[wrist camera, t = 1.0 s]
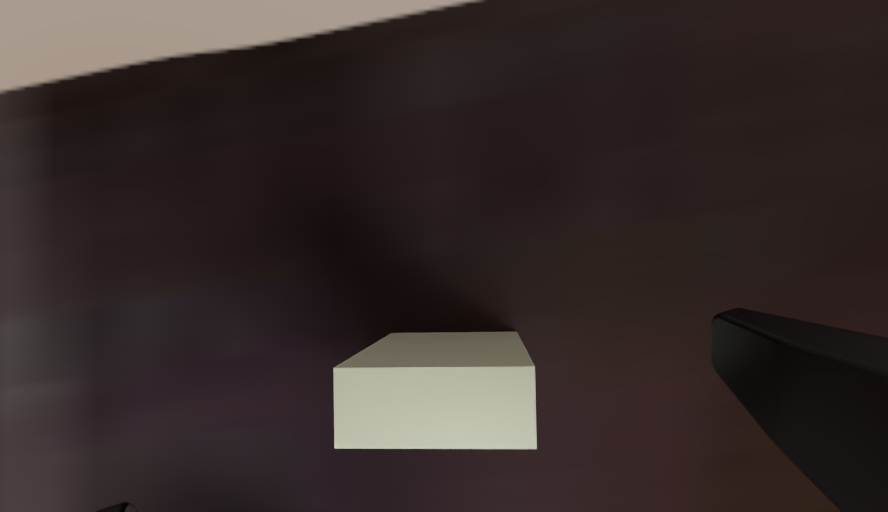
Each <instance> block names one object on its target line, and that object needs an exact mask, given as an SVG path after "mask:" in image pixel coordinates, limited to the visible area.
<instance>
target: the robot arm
mask: <svg viewBox="0 0 888 512" xmlns="http://www.w3.org/2000/svg"><path fill="white" fill-rule="evenodd" d="M710 359H711V363H712V366H713V368H714V370H715V371H716V373H717V374H718V375H719V376H720V378H721V379H722V380H723V381H724V383H725V384H726V385H727V386H728V387H729V389H730V390H731V391H732V392H733V394H734V395H735V396H736V397H737V398H738V400H739V401H740V402H741V403H742V405H743V406H744V407H745V408H746V410H747V411H748V412H749V413H750V414H751V416H752V417H753V418H754V419H755V421H756V422H757V423H758V424H759V425H760V427H761V428H762V429H763V430H764V432H765V433H766V434H767V435H768V436H769V437H770V439H771V440H772V441H773V442H774V443H775V444H776V445H777V446H778V448H779V449H780V450H781V451H782V452H783V453H784V454H785V455H786V456H787V457H788V458H789V459H790V460H791V461H792V462H793V463H794V464H795V465H796V466H797V467H798V468H799V469H800V470H801V471H802V472H803V473H804V474H805V475H806V476H807V477H808V478H809V479H810V480H811V481H812V482H813V483H814V484H815V486H816V487H817V488H818V489H819V490H820V491H821V492H822V493H823V494H824V495H825V496H826V497H827V498H828V499H829V500H830V501H831V502H832V503H833V504H834V505H835V506H836V507H837V508H838V509H839V510H840V511H841V512H888V338H885V337H880V336H875V335H870V334H865V333H861V332H856V331H851V330H846V329H841V328H836V327H831V326H826V325H821V324H816V323H811V322H806V321H801V320H796V319H791V318H786V317H782V316H777V315H772V314H767V313H762V312H757V311H752V310H747V309H742V308H735V309H731V310H728V311H725V312H722V313H719V314H717V315H715V316H714V318H713V320H712V324H711V344H710ZM96 512H137V511H136V509H135V508H134V506H133V505H132V504H131V503H127V502H123V503H120V504H117V505H113V506H110V507H107V508H104V509H101V510H98V511H96Z"/></svg>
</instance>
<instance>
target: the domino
mask: <svg viewBox="0 0 888 512" xmlns="http://www.w3.org/2000/svg"><path fill="white" fill-rule="evenodd" d="M334 449H537V435H536V392H535V366H534V364H533V362H532V360H531V358H530V356H529V354H528V352H527V350H526V348H525V346H524V345H523V343H522V341H521V339H520V337H519V335H518V333H517V332H432V333H391V334H389V335H387V336H386V337H384V338H382V339H381V340H379V341H377V342H376V343H374V344H372V345H371V346H369V347H367V348H366V349H364V350H362V351H361V352H359V353H357V354H356V355H354V356H352V357H351V358H349V359H347V360H346V361H344V362H342V363H341V364H339V365H337V366H336V367H334Z"/></svg>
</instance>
